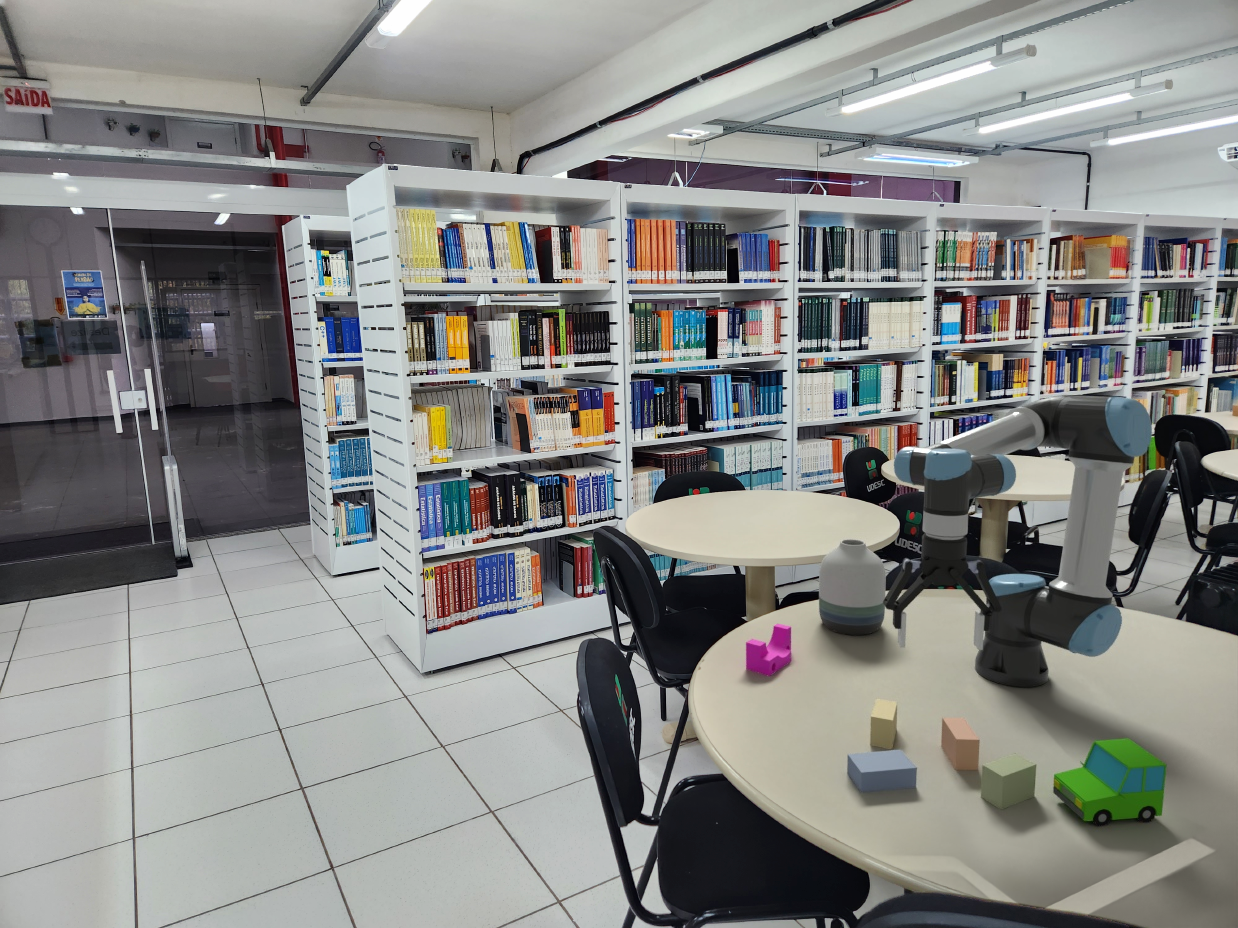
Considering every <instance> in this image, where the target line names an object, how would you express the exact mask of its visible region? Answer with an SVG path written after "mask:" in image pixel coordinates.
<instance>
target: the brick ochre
mask: <svg viewBox="0 0 1238 928" xmlns="http://www.w3.org/2000/svg"><path fill="white" fill-rule="evenodd" d="M897 724H898V701H895V700H894V701H893V700H888V699H882V698H875V701H874V705H873V709H872V711H871V715H870V735H869V736H870V738H869V744H870V746H873V747H878V748H884V749H889V750H893V746H894V742H895V739H896V733H897V727H898V725H897Z"/></svg>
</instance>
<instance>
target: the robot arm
mask: <svg viewBox="0 0 1238 928" xmlns="http://www.w3.org/2000/svg"><path fill="white" fill-rule="evenodd" d="M1152 431H1153V428H1152V421H1151V416H1150V414H1149V412H1148V410H1147V408H1146V406H1145V405H1144V404H1143V403H1141V402H1140V401H1138V399H1137V400H1136V399H1134V398H1126V397H1119V396H1100V395H1099V396H1096V395H1095V396H1094V395H1074V394H1061V395H1054V396H1049V397H1046V398H1041V399H1038V400H1034V401H1031V402H1029V403H1024V404H1022V405H1020V406H1016V407H1014V408H1012V409H1010V410H1009V411H1007V413H1006V414H1005V415H1004V417H1001V418H999V419H997V420H994V421H991V422H988V423H986V424H983V425H981V426H978V427H976V428H975V427H974V428H973V429H970V430H967V431H964V432H962V433H960V434H958V435H957V434H956V435H955V436H952V437H950V438H947V439H944V440H942V441H939V442H937V443H934V444H931V445H928V446H926V447H925V446H924V447H919V446H916V445H915V446H905V447H902V448H901V449H900V450H899V451H898V452H897V454H896V455H895V457H894V461H893V467H894V468H893V470H894V471H893V472H894V474H895V476H896V477H897V478H896V479H898V480H899V481H901V482H903V483H907V484H910V485H913V486H920V487H924V488H923V489H924V491H923V497H924V498H923V499H924V500H923V516H922V528H921V529H922V532H923V533H924V534H923V535H921V557H920V559H919V560H912V559H911V560H910V558H907V557H905V558H903V559H902V563H901V569H900V571H899V573H898V575H897V576H896V578H895V580H894V581H893V583H892V585H891V587H890V589H889V590H888V591H887V594H885V599H884V600H883V604H884V605H885V609H886V610H889V611H892V625H893V627H894V629H895V630H897V643H898V645H899V647H900V648H904V649H905V648H906V640H907V639H906V634H907V632H906V631H907V613H906V611H905V610H906V608H907V607H908V606H909V605H910V604H911V603H912V602H913V601H914V600H915V599H916V598H917V597H918V596H919V595H920V594H921V593H922V592H923V591H924V590H925V589H926V588H928V587H929V586H930V585H931V584H932V585H934V586H943V585H944V586H949V587H950V586H954V585H956V584H958V585H959V587H960V588H961V589H962V590H963V591H964V592H965V593H966V595H967V596H968V597H969V598H970V599H971V600H972V602H973V603H974V604H975V605H976V607H978V609H979V610H975V611H974V612H975V613H974V627H973V645H974V646H975V647H976V649H977V651H978V652H977V654H976V656H975V659H974V663H975V664H974V670H975V671H976V673H977V674H979V675H980V676H981V677H983V678H985V679H986V680H988V681H991V682H994V683H998V684H1001V685H1006V686H1012V687H1019V688H1020V687H1021V688H1030V687H1031V688H1033V687H1037V686H1038V687H1039V686H1042V685H1044V684H1045V683H1047V682H1048V680H1049V671H1050V670H1049V666H1048V663H1047V659H1046V656H1045V653H1044V650H1043V647H1042V643H1045V644H1049V645H1051V646H1054V647H1057V648H1061V649H1064V650H1066V651H1069V652H1070V653H1073V654H1079V655H1082V656H1085V657H1091V658H1095V657H1099V656H1101V655H1103V654H1104V653H1106V652H1108V650H1110V648H1111V647H1112V646H1113V645H1114V643H1115V641H1116V639H1117V638H1118V636H1119V633H1120V630H1121V627H1122V625H1123V624H1122V623H1123V617H1122V612H1121V610H1120V608H1118V607H1117V606H1116V605H1114V604H1112V601H1113V593H1112V592H1111V590H1109V589H1108V587H1107V585H1106V584H1107V577H1108V572H1109V565H1110V559H1111V551H1112V546H1113V539H1114V533H1115V528H1116V527H1115V526H1116V520H1117V515H1118V507H1119V501H1120V495H1121V488H1122V482H1123V476H1124V472H1125V471H1126V470H1128V469H1129V468H1131V467H1133V466H1134V462H1135V458H1138V457H1141V456H1143V455H1145V454H1146V452H1147V451H1148V447H1150V445H1151V442H1152V441H1151V440H1152V437H1153V435H1152V434H1153V433H1152ZM1040 447H1041V448H1044V447H1045V448H1047V447H1048V448H1056V449H1057V448H1058V449H1064V450H1069V451H1068V456H1067V457H1068V460H1069V461H1070V462H1071V463H1072V464H1073V465H1074V473H1073V480H1072V486H1071V493H1070V499H1069V507H1068V512H1067V513H1068V514H1067V519H1066V525H1065V532H1064V533H1065V534H1064V538H1063V546H1062V551H1061V552H1062V553H1061V558H1060V565H1059V572H1058V577H1056V578H1055V579H1053V580H1052V581H1050V582H1049V584H1048V587H1046V586H1047V582H1046V579H1045V578H1044V577H1042V576H1039V575H1034V574H1025V573H1009V574H1008V573H1006V574H1000V575H996V576H993V577H992V578H990V579H988V576H987V574H986V565H985V563H984V562H983V561H982V560H980V559H979V558H975V559H974V560H973V561H967V549H968V547H967V546H968V538H967V537H966V535H967V534H968V531H969V527H968V526H969V504H970V500H972V499H977V498H985V497H994V496H997V495H999V494H1002V493H1006V492H1008V491H1009V490H1011V489H1012V487H1013V486H1014V484H1015V482H1016V478H1017V471H1016V467H1015V465H1014V463H1013V462H1012V460H1011V459H1010V458H1009V457H1007V456H1006V455H1008V454H1011V453H1013V452H1016V451H1019V450H1022V451H1029V450H1030V451H1031V450H1033V449H1035V448H1040ZM917 569H919V570H920V572H921V573H920V574H919V575H918V577H916V580H915V581H914V582H913V583H912V584H911V585H910V586H909V587H908V588H907V589H906V590H905V591H904V593H903V594H901V593H902V591H903V590H904V589H905V586H906V585H907V583H908V582H909V579H910V577H912V576H911V575H912V574H913V573H915V571H916V570H917ZM969 569H970V571H971V572H972V573H973V574H974V575H975V577H976V579H977V581H978V583H979V584H980V585H979V586H981V589H982V591H983V594H984V595H985V597H986V601H983V600H982V598H981V597H980V596H979V594H977V593H976V591H975V590H974V589H973V588H972V587H971V585H969V583H968V582H967V581H966V579H965V578H964V577H963V576H964V575H965V574H966V572H968V570H969ZM899 596H900V597H899Z"/></svg>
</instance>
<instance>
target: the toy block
mask: <svg viewBox="0 0 1238 928" xmlns="http://www.w3.org/2000/svg"><path fill="white" fill-rule="evenodd" d="M790 662H792V626H790V625H785V624H781V623H776V624H774V625H773V627H772V634H771V638H770V640H769V642H768V644H767V642H766V641H762V640H758V639H754V638H751V639H749V640H747V641H746V642H745V669H746V670H749V671H753V672H754V673H758V672H759V673H758V674H761V675H764V676H767V675H768V676H767V677H770V675H771V676H772V675H773V674H775V673H776V672H777V670H778V671H779V670H781V669H782V668H783V667H785V666H786V665H788V664H789V663H790ZM787 663H788V664H787ZM784 665H785V666H784ZM781 667H782V668H781ZM780 668H781V669H780ZM775 671H776V672H775ZM774 672H775V673H774Z"/></svg>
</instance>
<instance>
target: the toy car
mask: <svg viewBox="0 0 1238 928" xmlns="http://www.w3.org/2000/svg"><path fill="white" fill-rule="evenodd" d="M1085 758H1086V759H1085V760H1084V763H1083V762H1082V761H1081V760H1080V764H1081V765H1082V766H1081V767H1078V768H1077V767H1076V768H1074V769H1070V770H1066V771H1061V772H1057V773H1054V775H1053V788H1052V789H1053V790H1052V792H1053V794H1054V795H1055V796H1057V798H1059V800H1060V801H1062V802H1063V803H1064V804H1065V805H1066V806H1067V807H1069V808H1070V810H1071V811H1073V812H1074V813H1075V814H1076V815H1077V816H1078V817H1080V819H1082V821H1084V822H1092V823H1093V824H1094V825H1096V827H1105V826H1108V824H1109V823H1110V822H1111V820H1112V821H1113V820H1114V821H1115V820H1125V819H1126V820H1127V819H1129V820H1130V819H1137V821H1139V822H1140V823H1150V822H1152V820H1153V819H1155V817H1158V816H1159V817H1161V816H1163V815H1162V814H1163V808H1164V807H1163V806H1164V795H1165V788H1166V787H1165V784H1166V775H1167V774H1166V773H1167V764H1166V763H1165V762H1163V761H1162V760H1161V759H1159V758H1158V757H1156V756H1154V755H1153V754H1152V753H1151V752H1148V751H1147V750H1146V749H1145V748H1143V747H1142V746H1140V745H1139V744H1137V743H1135V742H1134V741H1133V740H1131V739H1130V738H1117V739H1116V738H1115V739H1103V740H1102V739H1101V740H1094V741H1093V742H1092V744H1091V747H1090V749H1089V751H1088V753H1087V756H1086V757H1085Z"/></svg>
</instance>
